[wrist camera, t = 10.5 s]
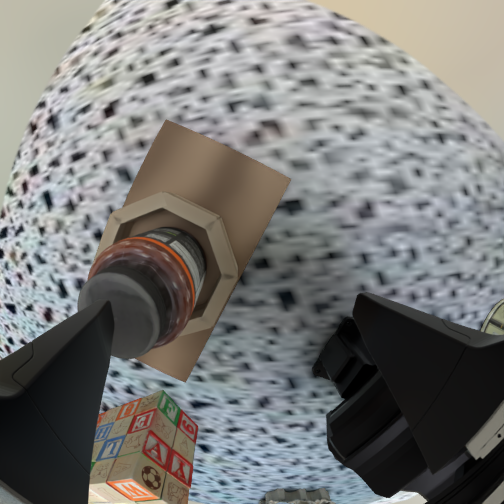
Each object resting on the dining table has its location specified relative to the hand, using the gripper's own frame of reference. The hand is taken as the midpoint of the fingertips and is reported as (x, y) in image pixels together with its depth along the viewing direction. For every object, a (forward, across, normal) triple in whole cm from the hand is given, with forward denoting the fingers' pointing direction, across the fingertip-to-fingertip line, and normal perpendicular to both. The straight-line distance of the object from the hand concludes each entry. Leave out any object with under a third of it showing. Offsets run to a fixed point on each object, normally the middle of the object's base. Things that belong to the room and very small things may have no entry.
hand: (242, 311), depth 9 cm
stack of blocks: (+11, +12, +25) cm, 30 cm away
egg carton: (+5, -11, +40) cm, 42 cm away
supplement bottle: (+13, +3, +4) cm, 14 cm away
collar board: (+14, +3, +4) cm, 14 cm away
